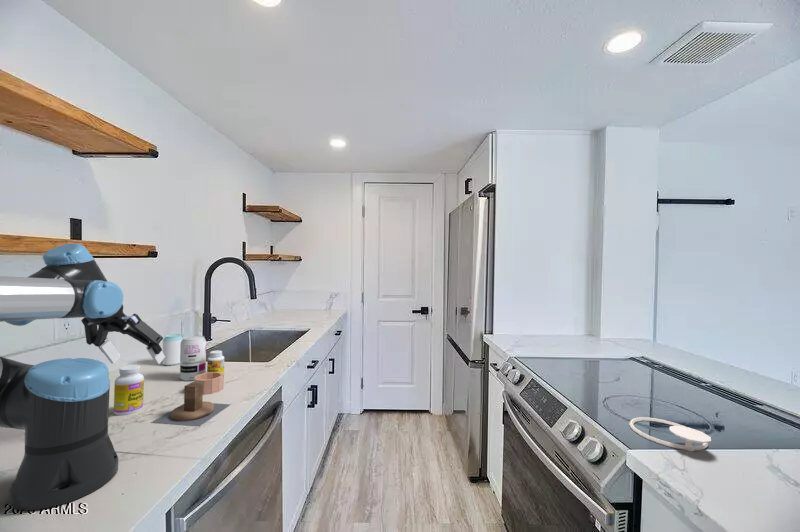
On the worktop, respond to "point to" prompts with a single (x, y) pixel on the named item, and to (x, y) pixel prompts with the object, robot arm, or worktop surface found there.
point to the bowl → (210, 382)
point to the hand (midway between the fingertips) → (138, 360)
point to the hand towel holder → (678, 430)
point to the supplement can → (192, 357)
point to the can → (171, 349)
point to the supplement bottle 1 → (128, 390)
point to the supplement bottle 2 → (215, 362)
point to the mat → (168, 420)
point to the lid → (192, 404)
